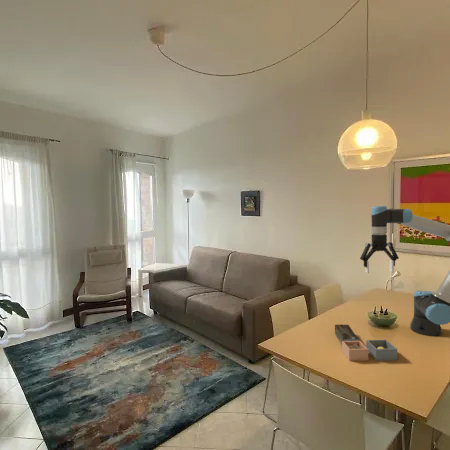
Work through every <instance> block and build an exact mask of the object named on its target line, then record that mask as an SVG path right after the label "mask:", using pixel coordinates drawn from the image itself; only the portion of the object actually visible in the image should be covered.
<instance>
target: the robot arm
mask: <svg viewBox="0 0 450 450" xmlns="http://www.w3.org/2000/svg"><path fill="white" fill-rule="evenodd" d="M370 215H371V216H370V217H371V243H369V242H366V243H365V247H364V249H363V252H362V253H361V255H360V258H359V260H361V261H363V267H364V271H365V272H364V273H366V274H369V273H370V262H369V259H371V257H372V256H373V254H374V253H376V252H381V251H382V252H384V253H385V254H386V255H387V256H388V258H389V272H390V273H394V272H395V271H394V267H395V266H396V261H397V260H399V256H398V254H397V252H396V250H395V247H394V244H393V242H392V241H391V242H388V235H387V233H388V224H398V225H401V226H403V227H408V228H412V229H414V230H418V231H419V232H423V233H427V234H429V235H432V236H437V237H441V238H444V239H445V240H446V241H447V242H449V243H450V225H449V224H446V223H443V222H440V221H436V220H433V219H430V218H427V217H422V216H419V215H416V214H413V211H412V210H411V209H410V208H389V209H388V206H386V205H377V206H376V205H375V206H372V207H371V214H370ZM387 247H388V248H387ZM448 324H450V269H449V270H448V272H447V274H446V275H445V277H444V278H443V280H442V282H441V283H440V285H439V287H438V288H437V290H436V291H431V290H416V291H414V294H413V317H412V320H411V322H410V326H409V328H410V330H411V331H413V332H414V333H417V334H420V335H424V336H431V337H434V336H435V337H436V336H441V335H442V326H443V325H448ZM441 325H442V326H441Z"/></svg>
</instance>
